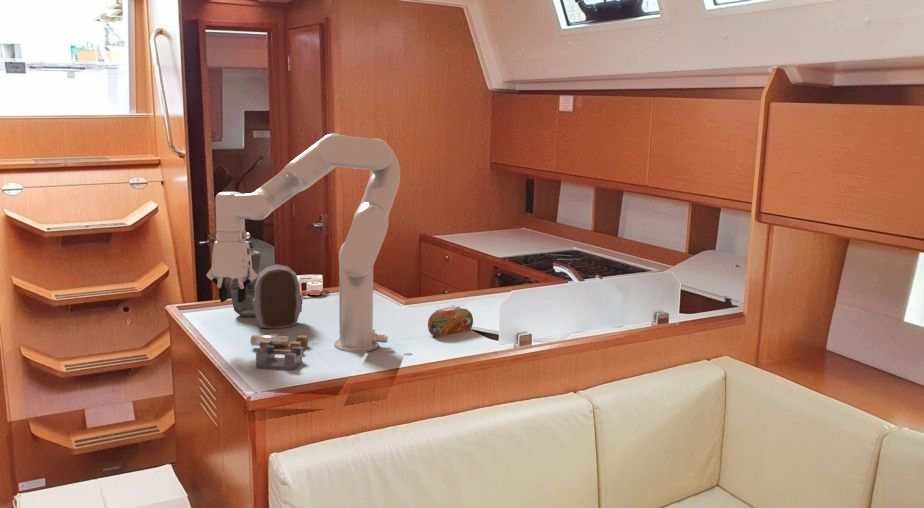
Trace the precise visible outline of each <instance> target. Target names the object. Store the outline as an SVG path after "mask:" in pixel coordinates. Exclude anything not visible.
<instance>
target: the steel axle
mask: <svg viewBox="0 0 924 508" xmlns="http://www.w3.org/2000/svg"><path fill="white" fill-rule="evenodd" d="M262 340H271V346H274V347H288V345H289V342H290V338H289V336H287V335H285V336H284V335H278V336H268V335H265V334H263V335H262V334H252V335H251V336H250V345H251V347H252V346H253V347H260V342H261V341H262Z"/></svg>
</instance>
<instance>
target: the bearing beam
mask: <svg viewBox="0 0 924 508" xmlns="http://www.w3.org/2000/svg"><path fill="white" fill-rule="evenodd" d="M267 336H279V334H275V333H269V334H268V335H267ZM308 341H309V340H308V335H298V336H296V340H294V341H289V345H288V347H274V352H275V354H282V355H283V354H284V355H285V354H286V353H291V348H292V347H302V352H303V351H304V350H306V348H307V347H308V346H309V345H308ZM265 345H267V346H271V340H262V341H261V342H260V346H259V352H263V347H264V346H265Z"/></svg>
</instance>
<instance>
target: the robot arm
mask: <svg viewBox="0 0 924 508" xmlns="http://www.w3.org/2000/svg"><path fill="white" fill-rule="evenodd" d="M337 167H338V168H348V169H356V170H366V171H367V170H368V171H369V178H368V182H367V185H366V187H365V191H364V194H363V196H362V197H361V200H360V202H359V206H358V207H357V209H356V211H355V212H354V214H353V215H354V216H353V219H352V223H351V226H350V227H349V228H350V229H349V231H348V232H347V235H346V237H345V241H344V242H343V243H342V244H341V246H340V248H339V252H338V265H339V271H338V272H339V298H338V299H339V301H338V303H339V314H338V315H339V318H338V319H339V326H338V327H339V329H338V330H339V339H336V340H335V341H334V343H333V347H334V348H335V349H337V350H339V351H344V352H350V353H351V352H370V351H373V350H375V349H377V348H378V347H379V343H383V344H384V343H385V344H388V340H389V337H388V335H385V334H381V333H380V334H378V333H376V329H374V324H373V323H374V264H375V262H376V260H377V257H378V255H379V252H380V249H381V248H382V245H383V242H384V241H385V238H386V235H387V233H388V229H389V215H390V212H391V209H392V207H393V204H394V201H395V199H396V195H397V192H398V191H399V187H400V182H401V166H400V163H399V159H398V157H397V156H396V153H395V152H394V151H393V149H392V148H391V146H390V145H389V143H387V142H386V141H385V140H383V139H381V138H378V137H377V138H376V137H374V138H369V137H361V136H352V135H351V136H350V135H343V134H339V133H329V134H326V135H324V136H323V137H322V138H320V139H319V140H318V141H316V142H315V143H314V144H312V145H311V146H310V147H309V148H307V149H306V150H304V151H303V152H302V153H300V154H299V155H298V156H296V157H295V158H293V160H291V161H289V163H287V164H286V165H285V166H284V168H283V169H281V170H280V171H279V172H278V173H277V174H276V175H275V176H274V177H272V178H271V179H269V180H268V181H267V182H265V183H264V184H262V185H261V186H260V187H259V188H257V189H256V190H254V191H253V192H251V193H242V192H240V191H221V192H218V193H217V194H216V196H215V226H216V228H215V231H216V240H215V241H214V244H213V248H212V260H211V268H210V269H209V270H208V272H207V273H206V275H205V276H206V277H207V278H208V279H209V280H211V281H212V282H213V283H214V285H216V287H217V289H218V298H219V300H220V303H224V302H226V301H227V300H228V287H227V286H226V280H227V279H232V278H238V282H239V289H238V302H239V303H242V302H243V301H244V300H245V299H246V287H247V285H249V284H250V283H251V282H252V281H253V280H255V279H256V278H257V277H258V276H257V274H256V273H255V272H254V270H253V269H252V260H251V252H250V247H249V243H248V241H249V240H246V239H250V238H251V234H250V233H249V232H247V231H246V224H245V223H246V220H252V221H261V220H264V219H266V218H267V217H268V216H269V215H271V214H272V212H274V211H276V209H278V208H279V207H281V206H282V205H283V204H284V203H285V202H287V201H289V200H290V199H291V198H293V197H295V195H297V194H299V193H301V192H303V191H306V190H307V189H309V188H310V187H312V185H315V183H316V182H318V181H319V180H321V179H322V178H323V177H324V176H326V175H327V174H329V173H330V172H332V171H333V170H335V169H336V168H337ZM248 275H250V278H248V279H247V280H246V278H245V277H247V276H248Z"/></svg>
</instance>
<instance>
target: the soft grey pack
mask: <svg viewBox="0 0 924 508" xmlns="http://www.w3.org/2000/svg"><path fill="white" fill-rule="evenodd" d="M297 276H298V275H297V272H295V271H294V270H293V269H291V268H290V267H289V266H288V265H284V264H283V265H282V264H273V265H269V266H265V267H264V269H262V270H261V272H260V273H259V274H258V278H257V281H256V284H255V298H254V299H253V311H254V314H255V315H256V316H255V318H256V322H257V323H258V327H260V328H263V329H268V330H269V329H283V328H290V327H294V326H297V323H298V319H299V316H300V313H301V312H302V311H303V309H302V308H303V306H302V305H303V298H302V296H301V297H300V285H299V282H298V279H297Z"/></svg>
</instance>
